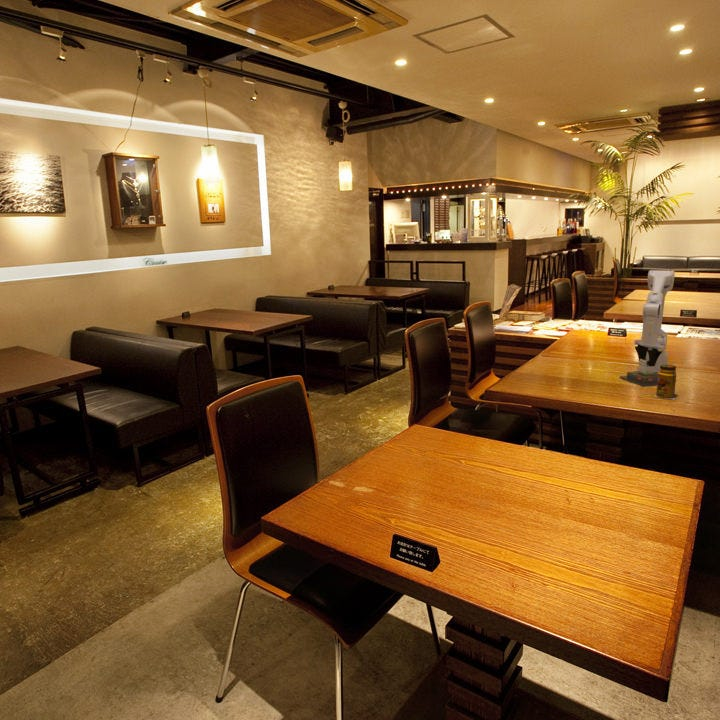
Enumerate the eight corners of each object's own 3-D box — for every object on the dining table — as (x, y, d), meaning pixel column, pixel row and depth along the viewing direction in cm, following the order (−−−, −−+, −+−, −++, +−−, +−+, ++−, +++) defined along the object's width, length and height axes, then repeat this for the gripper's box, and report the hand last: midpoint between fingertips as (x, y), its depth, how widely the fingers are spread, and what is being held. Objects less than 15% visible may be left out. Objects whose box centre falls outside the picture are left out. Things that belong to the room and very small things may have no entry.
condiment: (652, 396, 208) (655, 366, 205) (658, 391, 214) (661, 361, 211) (674, 400, 203) (677, 369, 200) (679, 394, 210) (682, 364, 207)
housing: (647, 375, 236) (648, 368, 236) (672, 383, 223) (673, 376, 222) (619, 378, 233) (619, 371, 233) (643, 387, 220) (643, 379, 219)
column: (646, 372, 230) (648, 357, 229) (654, 375, 226) (655, 360, 224) (637, 373, 229) (639, 358, 228) (645, 376, 225) (646, 361, 224)
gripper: (629, 330, 229) (626, 361, 233) (655, 336, 216) (651, 369, 219) (643, 328, 231) (640, 360, 234) (670, 335, 217) (666, 368, 220)
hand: (646, 364), depth 227 cm, fingers open, 5 cm apart
